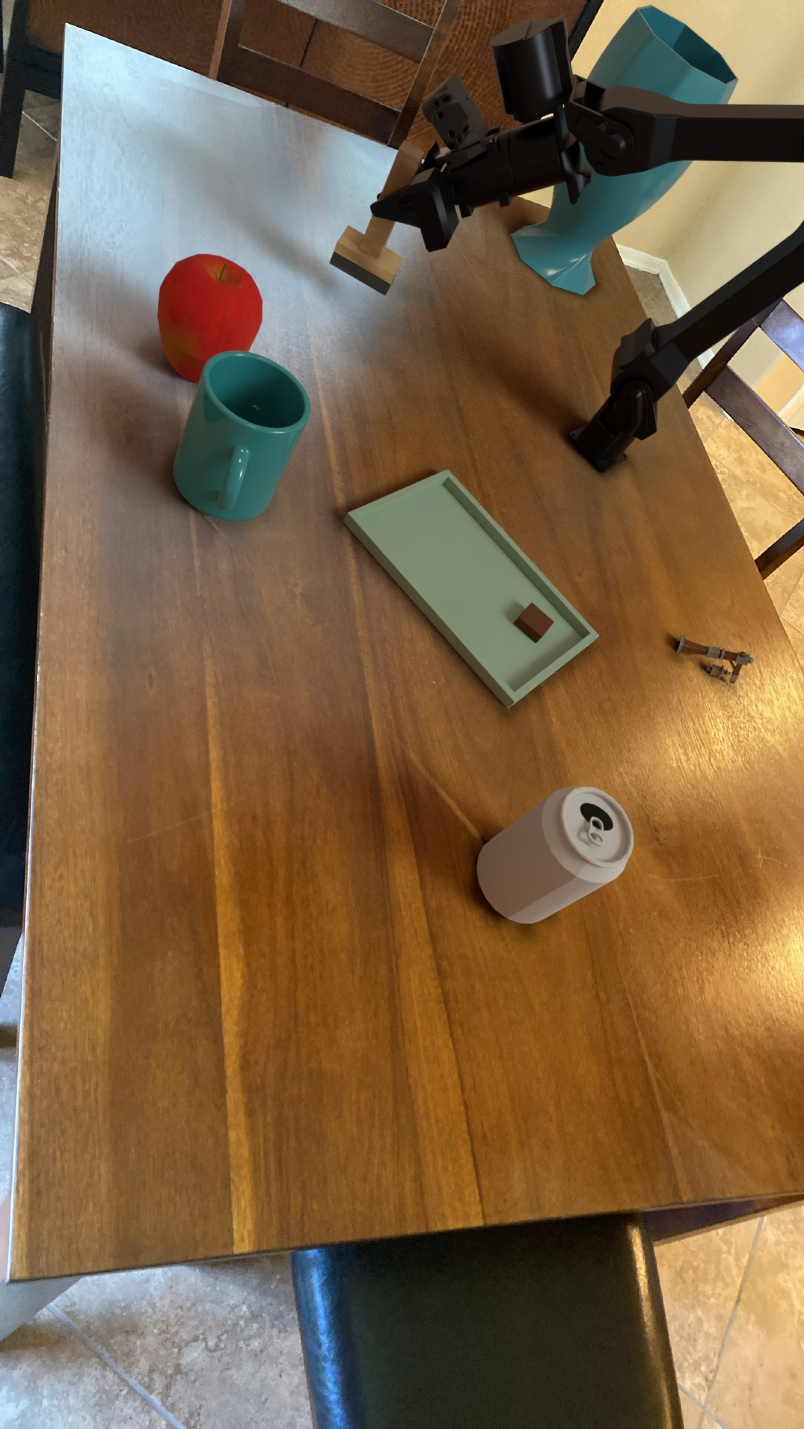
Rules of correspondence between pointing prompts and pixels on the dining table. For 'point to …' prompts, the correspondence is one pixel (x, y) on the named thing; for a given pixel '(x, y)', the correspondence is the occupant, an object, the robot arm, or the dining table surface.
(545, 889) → the can
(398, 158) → the brush
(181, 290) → the apple
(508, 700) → the tray
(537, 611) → the crumb
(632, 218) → the vase
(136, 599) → the dining table surface
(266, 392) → the cup
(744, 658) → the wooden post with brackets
